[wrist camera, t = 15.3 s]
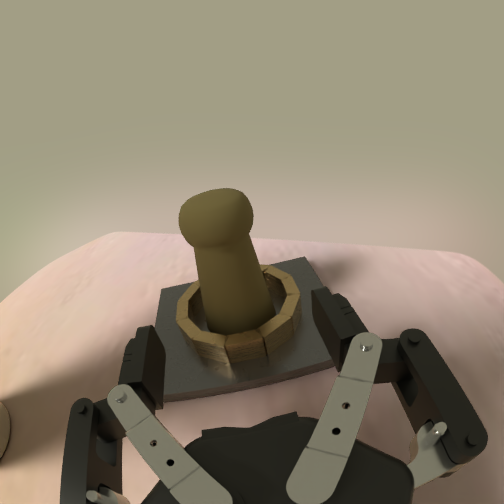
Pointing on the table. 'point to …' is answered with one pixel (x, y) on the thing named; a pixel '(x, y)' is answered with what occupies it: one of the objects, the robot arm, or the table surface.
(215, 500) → the robot arm
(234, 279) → the cork
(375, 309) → the table surface
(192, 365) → the collar plate
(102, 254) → the table surface
